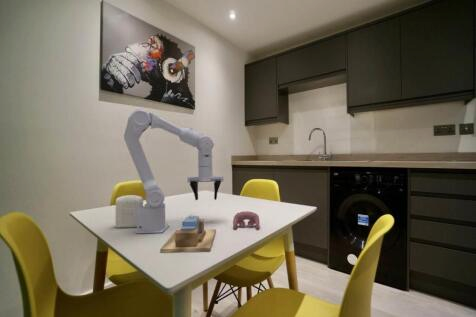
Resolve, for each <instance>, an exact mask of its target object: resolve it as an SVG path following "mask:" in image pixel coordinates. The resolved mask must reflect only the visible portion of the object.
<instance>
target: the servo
mask: <svg viewBox="0 0 476 317" xmlns="http://www.w3.org/2000/svg"><path fill="white" fill-rule="evenodd" d="M200 219H201V218H200V216H198V215H197V216H196V213H195V212H194V213H193V212H191V213H189V214H188V216H186V217H185V218H184V219H183V221H182V224H181V225H182V227H180V230H181V231H186V230H195V229H198V236H199V222H200Z"/></svg>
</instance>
